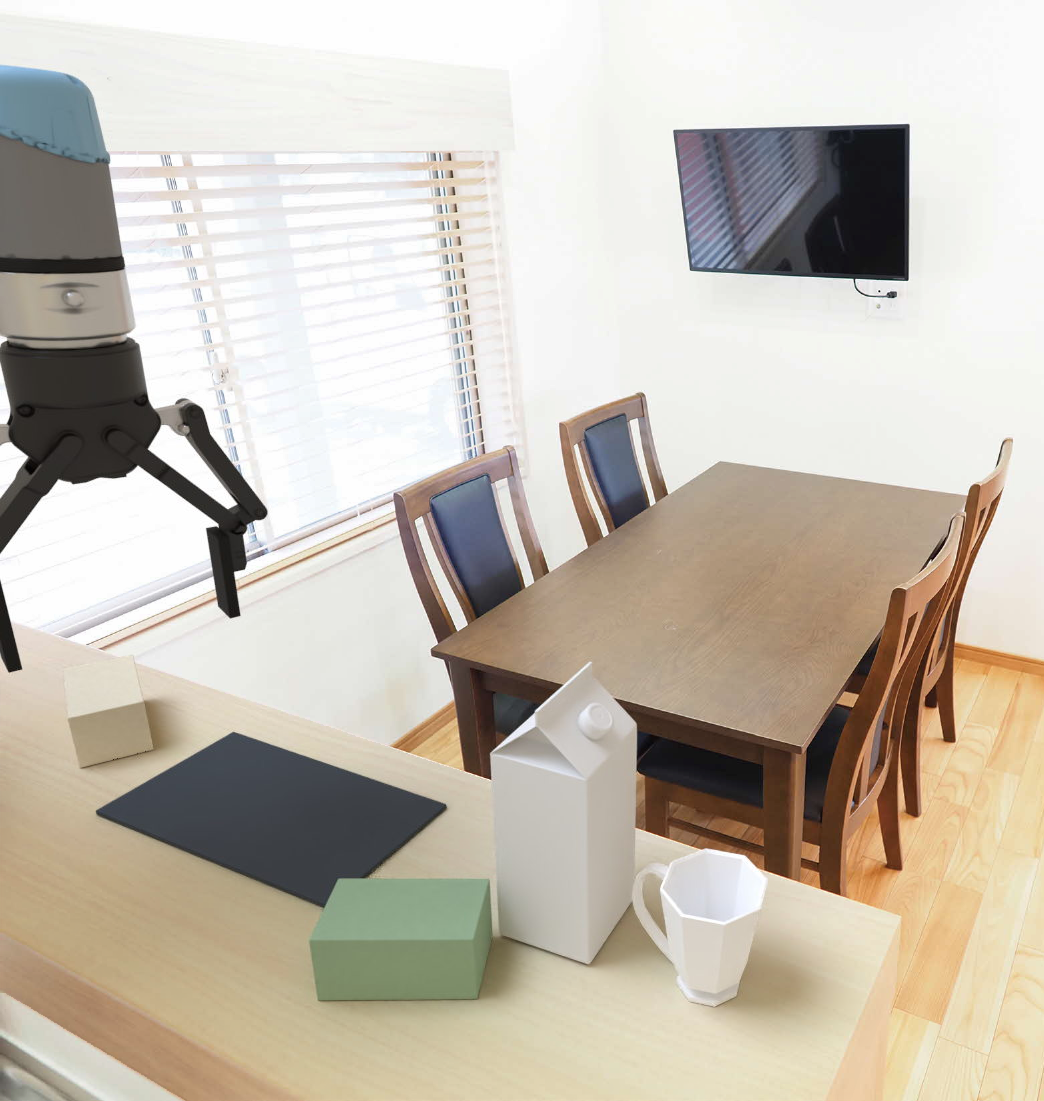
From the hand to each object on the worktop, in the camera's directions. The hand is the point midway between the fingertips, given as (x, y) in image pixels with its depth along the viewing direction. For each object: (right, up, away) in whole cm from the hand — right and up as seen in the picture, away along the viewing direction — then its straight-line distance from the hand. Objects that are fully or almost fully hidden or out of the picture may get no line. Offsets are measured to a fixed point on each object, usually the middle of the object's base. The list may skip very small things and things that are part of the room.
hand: (127, 636), depth 67 cm
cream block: (-13, -10, +18) cm, 25 cm away
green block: (+22, -22, -5) cm, 31 cm away
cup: (+41, -22, -4) cm, 47 cm away
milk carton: (+32, -20, 0) cm, 38 cm away
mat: (+6, -15, +9) cm, 19 cm away
